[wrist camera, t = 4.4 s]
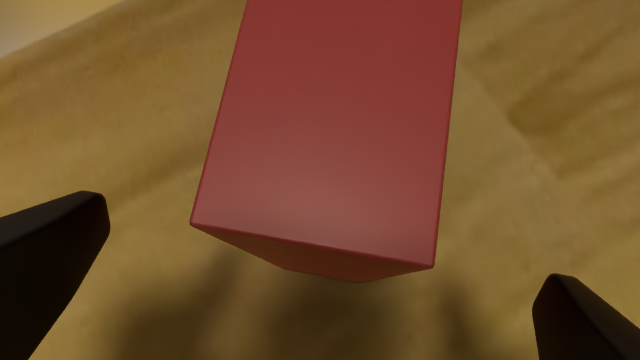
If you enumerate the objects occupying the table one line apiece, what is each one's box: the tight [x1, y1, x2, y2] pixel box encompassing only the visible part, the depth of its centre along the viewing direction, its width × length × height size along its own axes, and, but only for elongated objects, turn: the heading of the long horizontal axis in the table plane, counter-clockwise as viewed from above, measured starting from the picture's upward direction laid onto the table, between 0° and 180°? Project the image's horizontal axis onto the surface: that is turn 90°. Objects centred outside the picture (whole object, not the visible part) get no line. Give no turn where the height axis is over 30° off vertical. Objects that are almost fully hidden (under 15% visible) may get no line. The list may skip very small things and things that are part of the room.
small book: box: [190, 0, 463, 283], centre depth 13 cm, size 8×4×13 cm, turn 170°
